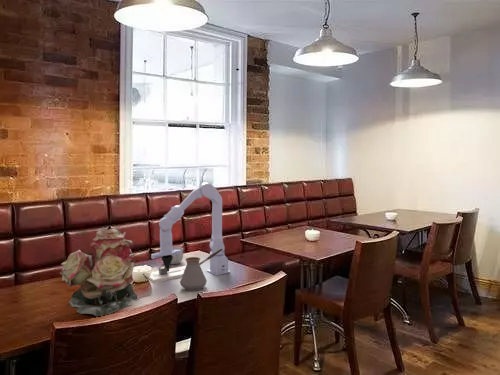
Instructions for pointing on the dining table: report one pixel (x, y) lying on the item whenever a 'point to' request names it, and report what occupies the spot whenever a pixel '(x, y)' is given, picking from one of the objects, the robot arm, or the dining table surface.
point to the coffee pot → (194, 274)
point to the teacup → (177, 256)
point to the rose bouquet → (101, 274)
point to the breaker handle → (162, 270)
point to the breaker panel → (168, 274)
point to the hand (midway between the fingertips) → (167, 271)
